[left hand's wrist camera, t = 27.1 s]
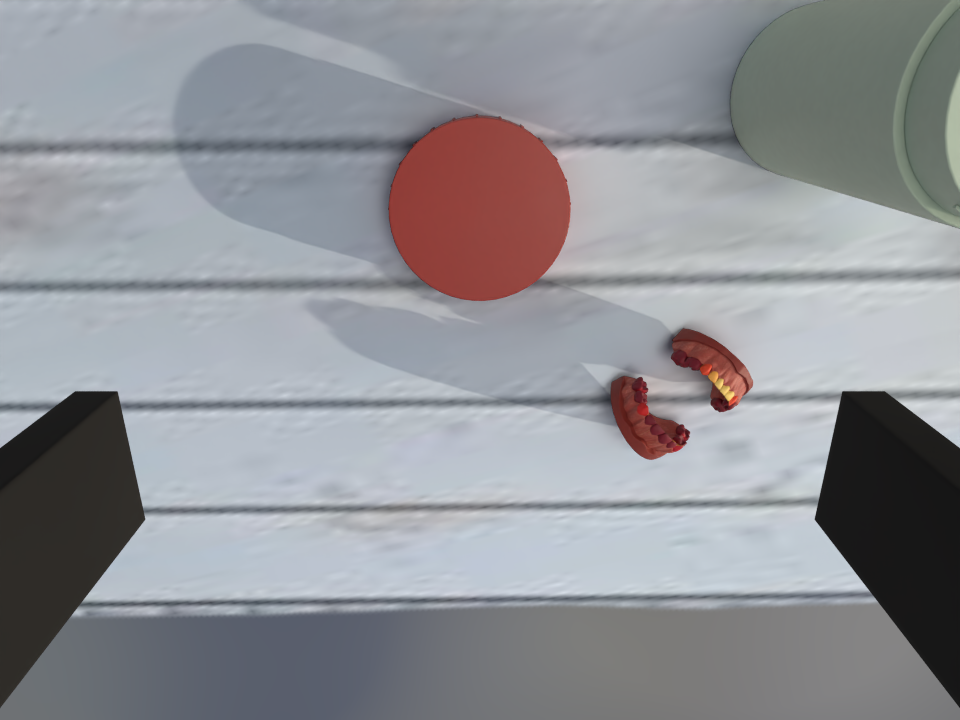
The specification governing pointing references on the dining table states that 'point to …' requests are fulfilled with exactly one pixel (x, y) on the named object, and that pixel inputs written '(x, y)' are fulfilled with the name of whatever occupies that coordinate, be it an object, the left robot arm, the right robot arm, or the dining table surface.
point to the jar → (859, 101)
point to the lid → (479, 208)
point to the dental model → (666, 435)
